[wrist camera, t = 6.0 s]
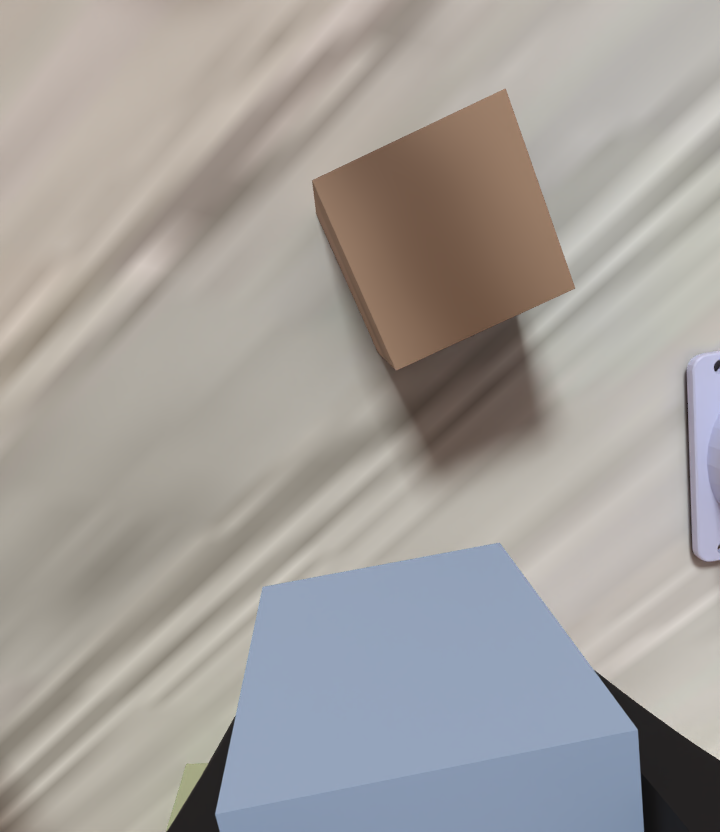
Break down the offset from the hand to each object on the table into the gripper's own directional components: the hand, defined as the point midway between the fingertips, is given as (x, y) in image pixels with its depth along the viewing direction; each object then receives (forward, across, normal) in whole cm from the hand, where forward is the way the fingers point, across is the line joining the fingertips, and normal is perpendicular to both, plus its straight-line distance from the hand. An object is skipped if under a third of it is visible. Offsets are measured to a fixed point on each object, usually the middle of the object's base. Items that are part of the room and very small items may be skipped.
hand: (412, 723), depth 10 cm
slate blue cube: (+2, 0, 0) cm, 2 cm away
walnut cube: (+10, -3, -9) cm, 14 cm away
